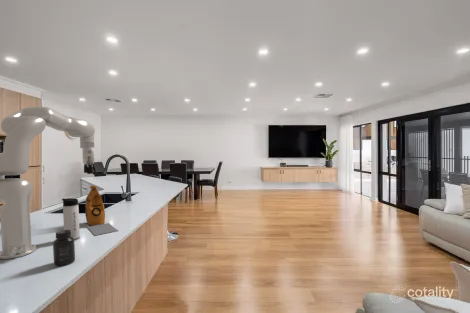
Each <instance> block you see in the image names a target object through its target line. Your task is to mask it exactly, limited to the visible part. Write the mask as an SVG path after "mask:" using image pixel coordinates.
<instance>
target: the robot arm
mask: <svg viewBox="0 0 470 313" xmlns="http://www.w3.org/2000/svg"><path fill="white" fill-rule="evenodd" d="M46 127H49V128H52V129H53V130H57V131H61V132H66V134H67V135H68V136H69V137H71V138H79V143H80V144H79V146H80V147H79V148H80V149H82V163H83V173H84V174H87V175H92V174H94V168H93V166H94V164H95V154H94V149H95V127H94V126H93V125H92V124H91V123H90V122H88V121H86V120H83V119H80V118H75V117H72V116H67V115H64V114H62V113H60V112H59V111H56V110H55V109H52V108H50V107H47V106H30V107H29V106H28V107H24V108H22V109H20V110H18V111H15V112H13V113H12V114H10V115H8V116H5V117H4V118H3V120H1V123H0V129H1V130H2V131H3V133H4V134H6V136H5V139H4V143H3V151H2V152H0V202H2V203H3V202H4V204H3V205H2V207H1V210H0V234H1V235H0V236H1V237H0V238H1V251H0V260H9V259H15V258H20V257H24V256H26V255H30V254H32V253H33V252H35V251H36V250H37V246H36V245H34V244H32V228H31V227H32V225H31V223H32V221H31V220H32V219H31V199H32V198H31V197H32V193H33V186H32V184H31V182H30V181H28V180H26V179H25V178H19V177H18V178H16V177H15V178H10V177H9V178H5V176H19V175H24V174H26V173H27V172H28V170H29V167H30V151H31V145H32V144H31V143H32V141H33V140H34V138H36V136H38V135H40V134H41V133H43V131H45V129H46Z"/></svg>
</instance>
